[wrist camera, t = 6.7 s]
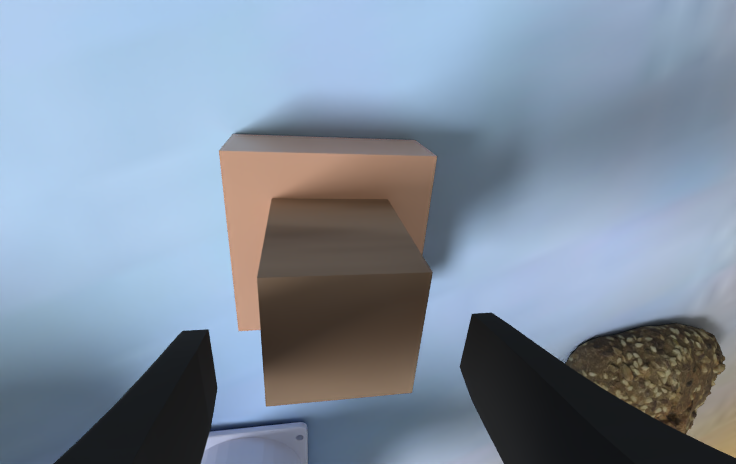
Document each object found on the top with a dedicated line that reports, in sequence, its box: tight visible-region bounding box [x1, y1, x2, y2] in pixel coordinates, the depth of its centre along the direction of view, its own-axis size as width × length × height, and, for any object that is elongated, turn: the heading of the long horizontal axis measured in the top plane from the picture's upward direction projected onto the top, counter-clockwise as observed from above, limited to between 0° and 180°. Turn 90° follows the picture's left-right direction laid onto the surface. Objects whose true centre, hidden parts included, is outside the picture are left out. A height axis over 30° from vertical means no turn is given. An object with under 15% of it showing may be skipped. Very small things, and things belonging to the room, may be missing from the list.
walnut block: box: [257, 198, 433, 406], centre depth 13 cm, size 4×4×6 cm
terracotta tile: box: [219, 134, 437, 331], centre depth 16 cm, size 8×8×3 cm
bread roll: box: [566, 323, 725, 434], centre depth 26 cm, size 13×12×5 cm
